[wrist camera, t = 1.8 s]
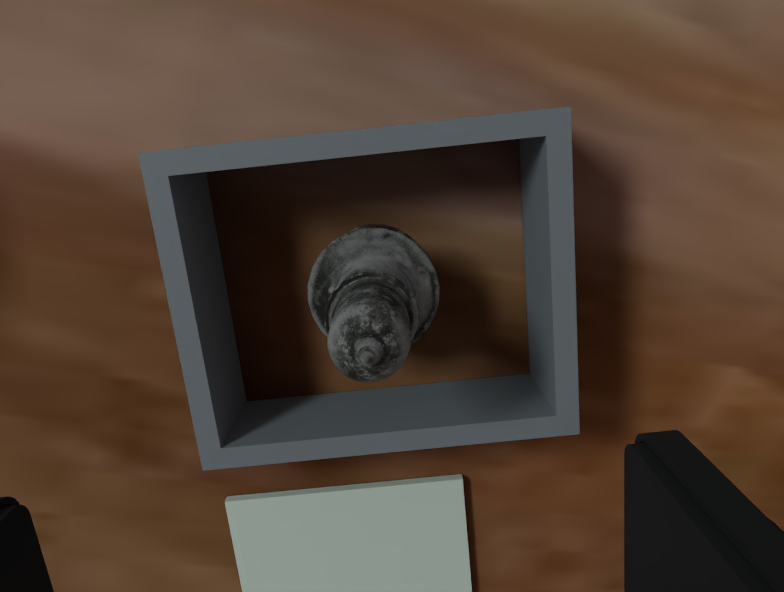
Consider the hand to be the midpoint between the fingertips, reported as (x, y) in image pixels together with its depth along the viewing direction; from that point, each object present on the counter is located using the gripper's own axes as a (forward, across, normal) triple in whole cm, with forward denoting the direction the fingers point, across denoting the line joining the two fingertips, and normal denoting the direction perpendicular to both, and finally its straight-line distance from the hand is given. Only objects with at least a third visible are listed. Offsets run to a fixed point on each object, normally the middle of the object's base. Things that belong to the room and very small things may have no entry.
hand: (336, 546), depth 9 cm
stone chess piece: (+21, 0, +1) cm, 21 cm away
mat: (+21, +3, +19) cm, 28 cm away
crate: (+21, 0, +1) cm, 21 cm away
